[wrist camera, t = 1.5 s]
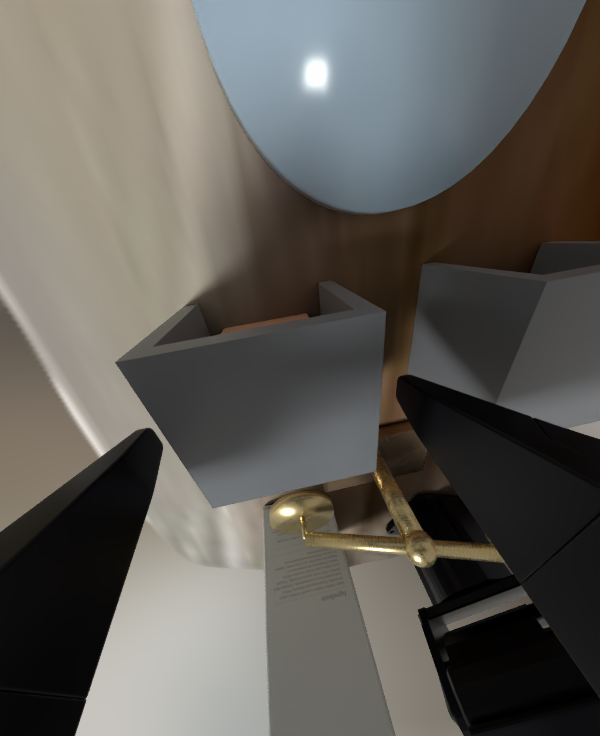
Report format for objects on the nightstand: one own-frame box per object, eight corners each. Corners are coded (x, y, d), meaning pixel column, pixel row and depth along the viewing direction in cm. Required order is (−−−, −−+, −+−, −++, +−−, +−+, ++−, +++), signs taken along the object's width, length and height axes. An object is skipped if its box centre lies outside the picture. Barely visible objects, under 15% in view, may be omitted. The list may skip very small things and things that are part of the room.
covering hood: (338, 394, 13) (376, 471, 9) (230, 416, 13) (212, 508, 8) (331, 280, 10) (386, 311, 5) (184, 306, 10) (115, 362, 5)
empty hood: (505, 360, 14) (620, 415, 9) (406, 380, 14) (476, 448, 9) (552, 241, 10) (767, 240, 6) (422, 264, 10) (547, 281, 6)
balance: (475, 406, 16) (637, 531, 9) (459, 451, 18) (575, 575, 11) (261, 453, 15) (259, 629, 8) (275, 493, 17) (283, 653, 11)
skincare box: (261, 504, 18) (257, 1148, 5) (333, 492, 19) (484, 1038, 6) (271, 549, 22) (282, 964, 9) (329, 538, 23) (413, 913, 10)
